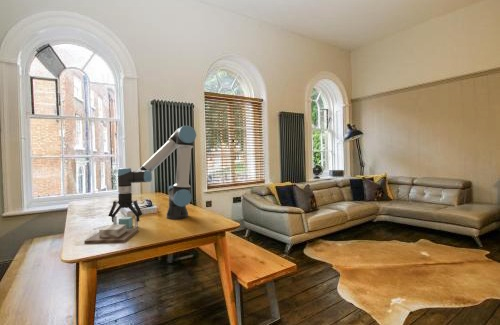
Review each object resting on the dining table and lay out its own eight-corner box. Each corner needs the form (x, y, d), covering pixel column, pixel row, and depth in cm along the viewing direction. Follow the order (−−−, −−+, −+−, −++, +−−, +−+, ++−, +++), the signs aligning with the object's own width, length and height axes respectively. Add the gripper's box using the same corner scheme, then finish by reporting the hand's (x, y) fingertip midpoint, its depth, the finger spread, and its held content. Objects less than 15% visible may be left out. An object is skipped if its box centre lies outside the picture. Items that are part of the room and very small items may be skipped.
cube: (132, 226, 169) (132, 216, 168) (128, 228, 163) (128, 219, 162) (123, 226, 168) (122, 216, 168) (118, 229, 162) (118, 219, 162)
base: (138, 231, 157) (138, 221, 157) (124, 242, 137) (123, 232, 137) (103, 231, 156) (103, 222, 156) (84, 243, 136) (84, 232, 136)
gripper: (101, 194, 160) (102, 229, 161) (143, 193, 162) (143, 228, 162) (107, 192, 168) (108, 225, 169) (147, 191, 169) (147, 225, 170)
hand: (125, 227), depth 165 cm, fingers open, 12 cm apart
